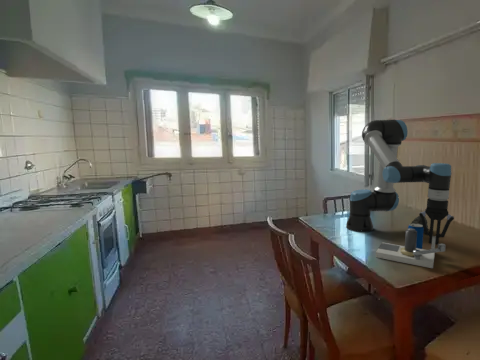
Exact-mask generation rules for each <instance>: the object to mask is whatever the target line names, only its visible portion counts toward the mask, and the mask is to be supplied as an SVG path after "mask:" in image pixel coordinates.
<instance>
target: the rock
mask: <svg viewBox="0 0 480 360" xmlns="http://www.w3.org/2000/svg"><path fill="white" fill-rule="evenodd" d="M425 219H426V224H427V229H428V231H430V228H429V226H428V225H429V224H428V220H427V218H426V217H425ZM411 223H415V224H421V225H423V223H422V218H421V217H420V215H418V216H417V217H415V218H414V219H413V220H412V221H411ZM423 233H424V231H423Z"/></svg>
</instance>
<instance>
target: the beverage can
mask: <svg viewBox="0 0 480 360" xmlns="http://www.w3.org/2000/svg"><path fill="white" fill-rule="evenodd" d="M408 228H412V229H415V231H417V241H416V248H418V249H423V246H424V245H423V243H424V232H423V231H424V228H423V225H421V224H415V223H412V222H410V223H409V224H408V226H407V229H408Z"/></svg>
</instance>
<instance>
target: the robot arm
mask: <svg viewBox="0 0 480 360" xmlns="http://www.w3.org/2000/svg"><path fill="white" fill-rule="evenodd" d="M408 130H409V129H408V127H407V124H406V122H405V121H404V120H402V119H378V120H377V119H376V120H375V119H374V120H371V121H369V122H367V123H366V124H365V126H364V127H363V129H362V132H361V138H362V140H363V143H364V144H366V145H367V146H369V148H370V150H371V151H372V153H373V154H374V156H375V157H376V159H377V161H378V165H379V166H378V173H377V182H376V184H377V185H376V186H374V187H373V191H372V190H370V189H356V190H353V191H351V193H350V197H349V216H348V218H347V220H346V221H347V222H346V229H348V230H350V231H353V232H359V233H360V232H361V233H362V232H363V233H366V232H372V231H373V230H374V224H373V220H372V218H371V212H393V211H394V210H396V209H397V208H398V206H399V202H400V197H399V194H398V193H397V192H396V189H395V188H394V184H397V183H398V184H399V183H400V184H401V183H402V184H403V183H425V184H428V188H427V189H428V190H427V200H426V207H425V209H424V211H420V212H419V213H418V214H419V215H418V216H420V217H421V218H422V223H423V228H424V232H423V234H424V235H426V236H428V243H429V244H430V245H431V246H430V249H436V246H438V244H440V243H439V242H440V238H445V235H446V234H447V231H448V229H449V227H450V224H451V222H453V221H454V219H455V217H454V216H453V215H451V214H450V213H449V211H448V206H449V201H448V199H449V198H450V197H449V196H450V188H451V178H452V165H451V164H450V163H444V162H443V163H441V162H433V163H431V164H430V166H429V165H428V166H427V165H424V164H418V165H411V166H410V165H406V166H405V165H403V164H402V163H401V162H400V160H399V159H398V157H397V156H398V148H399V147H400V146H401V145H402V141H405V140H406V139H407V137H408V134H409V133H408ZM426 215H427V217H428V218H429V219H430V223H429V228H428V229H429V230H428V229H427V225H428V223H427V224H426V220H427V218H426ZM425 218H426V219H425ZM444 219H446V221H445V224H444V226H443V228H442V231H441V225H442V224H441V223H442V221H443V220H444ZM435 221H437V222H436V223H437V224H436V231H435V232H436V233H435V235H433V234H434V224H435Z"/></svg>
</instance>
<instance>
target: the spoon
mask: <svg viewBox="0 0 480 360" xmlns="http://www.w3.org/2000/svg"><path fill="white" fill-rule="evenodd" d="M439 252H440V253H441V252H442V253H443V252H446V244H445V243H438V245H437V247H436V248H435V249H431V248H430V249H424V250H423V251H420V250H413V255H415V256H422V254H428V253H439Z"/></svg>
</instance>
